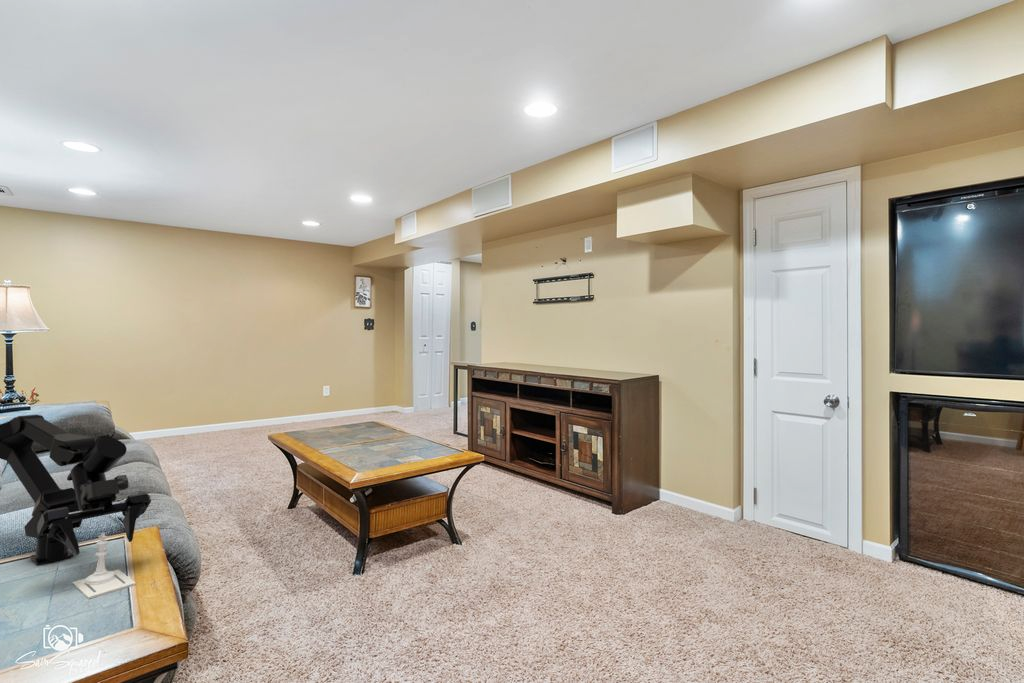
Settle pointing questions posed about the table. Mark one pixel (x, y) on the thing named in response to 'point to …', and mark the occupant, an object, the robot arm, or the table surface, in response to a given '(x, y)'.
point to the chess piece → (100, 565)
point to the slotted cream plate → (104, 585)
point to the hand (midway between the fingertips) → (105, 547)
